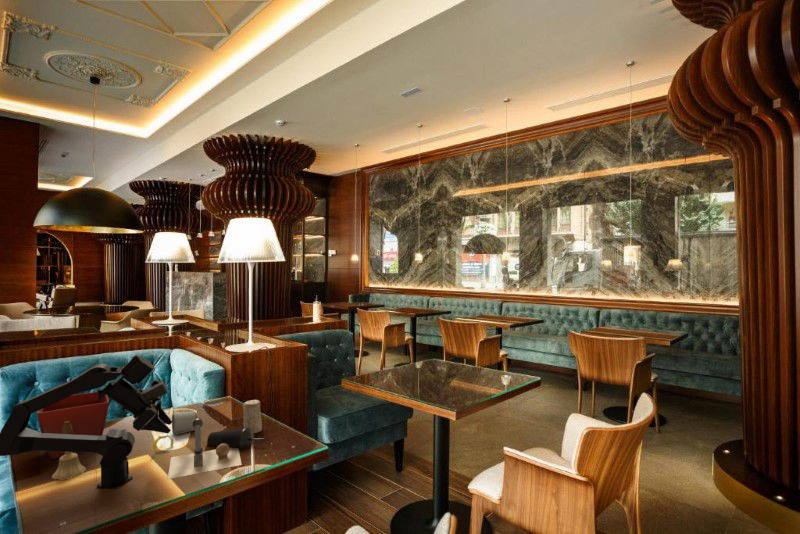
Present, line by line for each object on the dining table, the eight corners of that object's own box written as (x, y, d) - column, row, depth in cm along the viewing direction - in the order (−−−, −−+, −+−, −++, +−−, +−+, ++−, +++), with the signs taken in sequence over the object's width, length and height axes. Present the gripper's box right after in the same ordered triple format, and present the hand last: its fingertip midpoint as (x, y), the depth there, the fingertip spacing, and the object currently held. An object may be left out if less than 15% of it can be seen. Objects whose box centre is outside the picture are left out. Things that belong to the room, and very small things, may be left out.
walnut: (216, 461, 136) (215, 447, 136) (215, 456, 140) (215, 442, 140) (229, 459, 138) (229, 445, 138) (229, 454, 142) (228, 440, 142)
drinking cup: (209, 456, 150) (262, 457, 146) (201, 441, 147) (255, 440, 142) (221, 438, 157) (272, 438, 152) (213, 423, 153) (265, 422, 149)
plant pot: (107, 434, 165) (106, 389, 165) (110, 450, 150) (109, 401, 150) (42, 447, 154) (41, 399, 154) (37, 466, 139) (36, 413, 139)
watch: (170, 449, 151) (171, 431, 151) (174, 451, 149) (175, 433, 149) (151, 454, 146) (152, 435, 147) (155, 456, 145) (156, 437, 145)
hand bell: (58, 482, 128) (57, 428, 128) (46, 476, 132) (45, 423, 132) (91, 471, 135) (89, 419, 135) (78, 465, 139) (77, 415, 139)
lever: (192, 460, 134) (192, 421, 134) (193, 454, 137) (192, 417, 137) (203, 458, 135) (202, 419, 135) (203, 453, 139) (202, 416, 139)
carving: (256, 429, 167) (255, 397, 167) (265, 434, 162) (265, 401, 162) (240, 433, 163) (239, 401, 163) (249, 439, 158) (248, 405, 158)
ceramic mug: (198, 432, 165) (198, 411, 165) (174, 437, 161) (174, 416, 161) (193, 424, 174) (192, 405, 174) (170, 429, 169) (169, 409, 169)
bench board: (167, 484, 126) (167, 466, 126) (171, 462, 140) (170, 446, 140) (241, 469, 134) (241, 453, 134) (237, 450, 148) (237, 435, 148)
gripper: (146, 381, 122) (190, 415, 127) (152, 367, 139) (191, 398, 144) (112, 414, 119) (159, 447, 124) (123, 396, 136) (164, 425, 141)
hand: (170, 427), depth 133 cm, fingers open, 8 cm apart
